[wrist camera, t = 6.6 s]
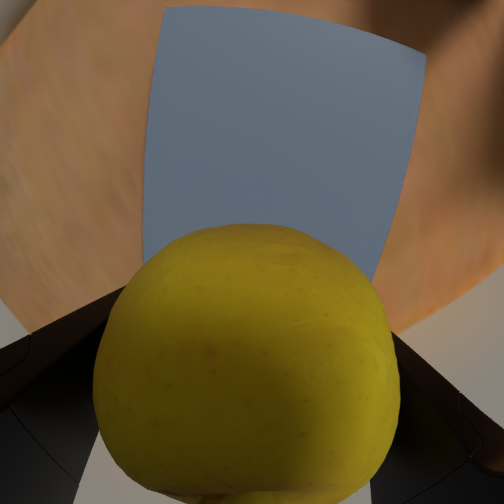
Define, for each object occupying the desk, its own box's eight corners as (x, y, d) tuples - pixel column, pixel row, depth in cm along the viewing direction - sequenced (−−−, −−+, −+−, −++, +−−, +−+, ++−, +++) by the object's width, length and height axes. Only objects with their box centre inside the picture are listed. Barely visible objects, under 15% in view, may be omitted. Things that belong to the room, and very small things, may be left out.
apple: (143, 193, 9) (-65, 402, 1) (358, 178, 8) (568, 424, 1) (182, 349, 11) (129, 539, 4) (344, 345, 11) (382, 546, 4)
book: (163, 325, 21) (150, 353, 18) (183, 23, 12) (165, 7, 9) (322, 350, 21) (327, 380, 18) (402, 62, 12) (426, 54, 9)
